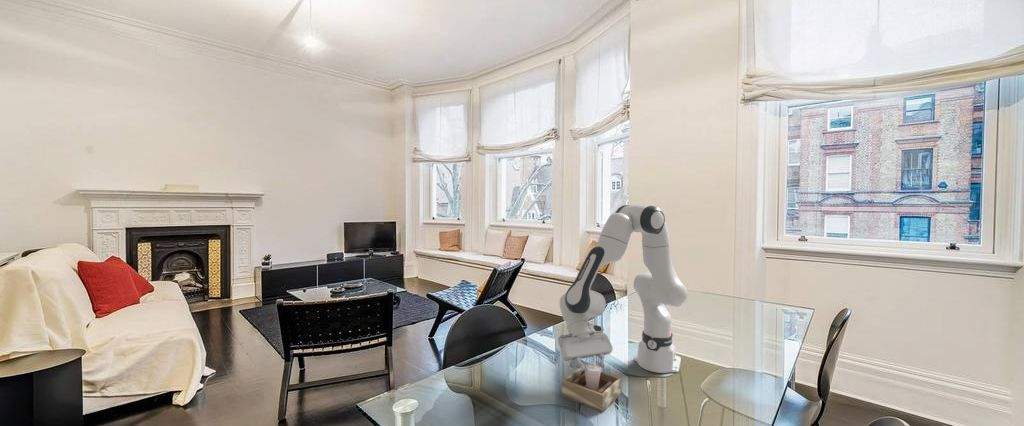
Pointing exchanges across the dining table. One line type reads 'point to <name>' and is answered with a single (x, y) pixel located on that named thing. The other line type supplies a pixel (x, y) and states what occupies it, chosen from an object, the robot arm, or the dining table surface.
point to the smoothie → (593, 375)
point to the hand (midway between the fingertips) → (593, 368)
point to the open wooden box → (592, 390)
